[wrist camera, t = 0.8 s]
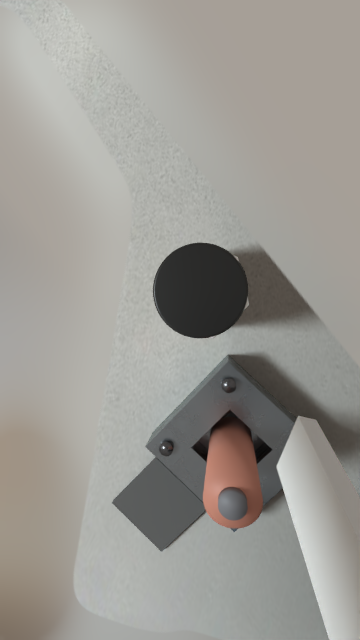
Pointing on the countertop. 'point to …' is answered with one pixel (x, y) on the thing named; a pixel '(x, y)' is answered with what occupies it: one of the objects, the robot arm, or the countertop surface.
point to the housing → (212, 405)
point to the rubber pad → (159, 504)
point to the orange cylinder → (232, 475)
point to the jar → (200, 290)
